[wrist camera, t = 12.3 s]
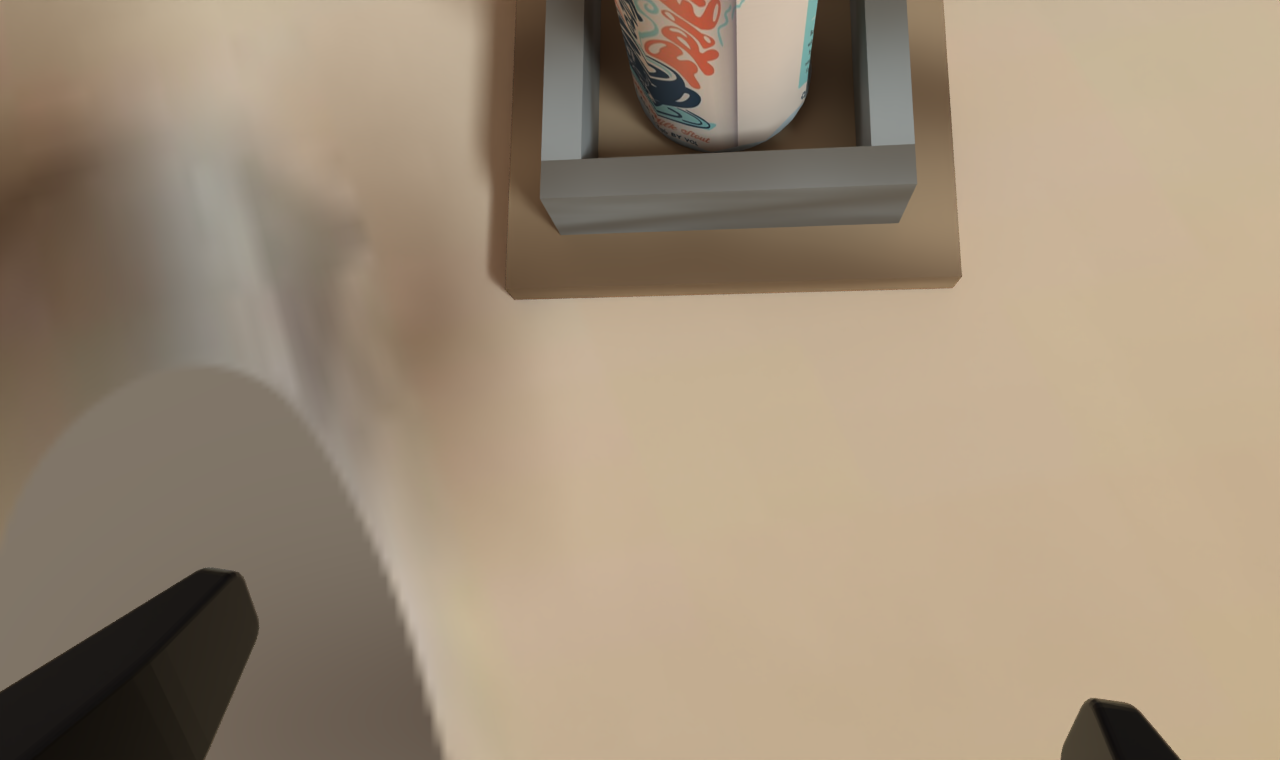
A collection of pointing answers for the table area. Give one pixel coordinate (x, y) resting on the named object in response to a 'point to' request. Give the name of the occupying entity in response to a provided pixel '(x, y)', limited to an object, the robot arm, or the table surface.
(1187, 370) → the table surface
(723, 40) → the beer can
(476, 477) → the table surface
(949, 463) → the table surface
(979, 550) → the table surface
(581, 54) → the socket board
